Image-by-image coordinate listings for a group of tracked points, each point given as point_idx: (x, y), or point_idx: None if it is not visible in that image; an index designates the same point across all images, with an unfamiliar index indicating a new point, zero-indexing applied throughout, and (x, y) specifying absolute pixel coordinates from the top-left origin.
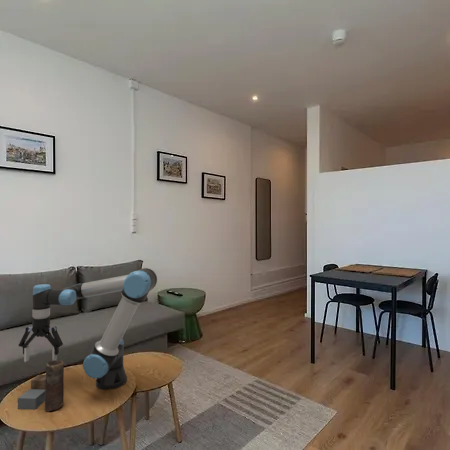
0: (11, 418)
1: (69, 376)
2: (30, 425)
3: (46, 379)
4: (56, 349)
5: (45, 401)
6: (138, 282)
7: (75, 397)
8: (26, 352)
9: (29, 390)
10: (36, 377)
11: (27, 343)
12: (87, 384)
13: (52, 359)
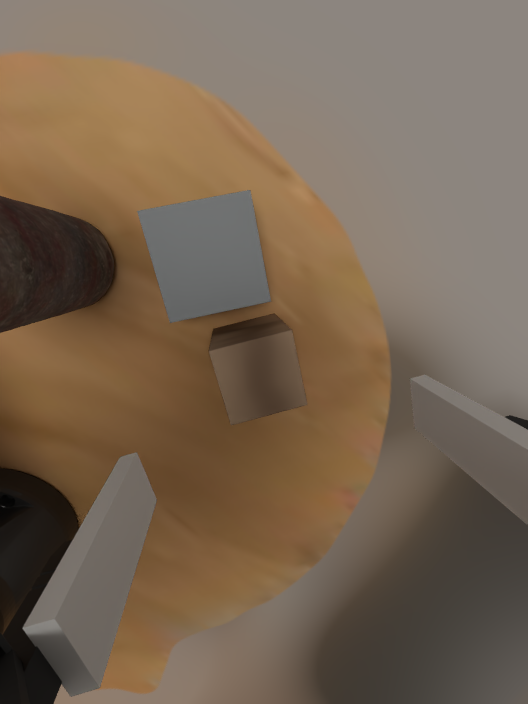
0: (199, 113)
1: (250, 510)
2: (34, 70)
3: None
4: (19, 625)
5: (65, 216)
6: None
7: (54, 372)
8: (488, 438)
9: (259, 288)
10: (288, 372)
11: None
12: None
13: (126, 472)
